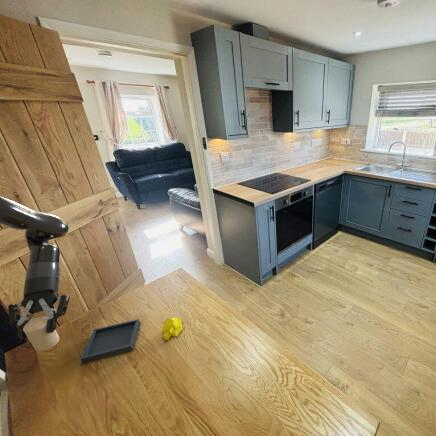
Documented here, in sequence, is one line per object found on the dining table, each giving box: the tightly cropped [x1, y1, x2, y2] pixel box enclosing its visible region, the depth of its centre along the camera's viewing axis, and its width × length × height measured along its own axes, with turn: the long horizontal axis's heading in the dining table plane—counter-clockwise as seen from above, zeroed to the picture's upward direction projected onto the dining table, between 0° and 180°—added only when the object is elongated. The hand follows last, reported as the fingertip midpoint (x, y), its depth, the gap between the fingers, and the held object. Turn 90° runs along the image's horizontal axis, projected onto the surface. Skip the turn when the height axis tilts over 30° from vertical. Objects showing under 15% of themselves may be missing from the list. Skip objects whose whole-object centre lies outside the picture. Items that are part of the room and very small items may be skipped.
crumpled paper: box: [160, 317, 184, 341], centre depth 90 cm, size 6×8×8 cm
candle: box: [23, 316, 60, 353], centre depth 71 cm, size 6×6×10 cm
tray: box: [80, 318, 141, 364], centre depth 86 cm, size 15×13×2 cm
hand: (37, 335), depth 70 cm, fingers closed on candle, 5 cm apart
